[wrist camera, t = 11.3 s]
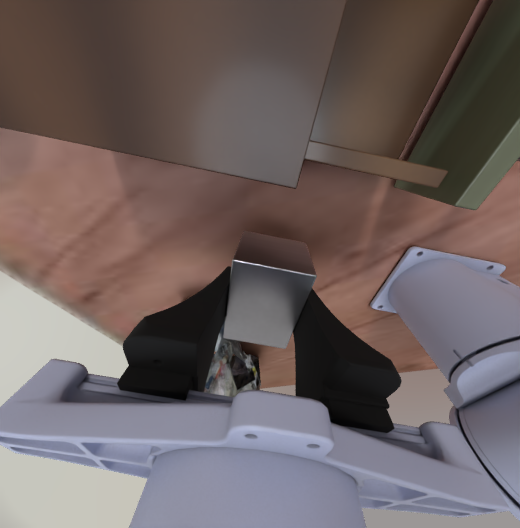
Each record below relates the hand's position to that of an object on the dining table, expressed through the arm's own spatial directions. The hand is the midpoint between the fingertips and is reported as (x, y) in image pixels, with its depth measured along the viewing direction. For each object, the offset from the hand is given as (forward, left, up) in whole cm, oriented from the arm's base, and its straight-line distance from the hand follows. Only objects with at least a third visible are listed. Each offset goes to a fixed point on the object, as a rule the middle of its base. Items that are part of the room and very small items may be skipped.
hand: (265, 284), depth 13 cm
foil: (+3, +14, -6) cm, 16 cm away
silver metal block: (0, 0, -1) cm, 1 cm away
